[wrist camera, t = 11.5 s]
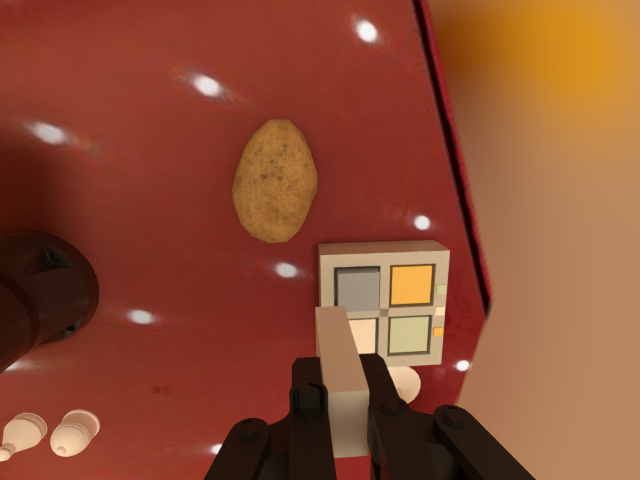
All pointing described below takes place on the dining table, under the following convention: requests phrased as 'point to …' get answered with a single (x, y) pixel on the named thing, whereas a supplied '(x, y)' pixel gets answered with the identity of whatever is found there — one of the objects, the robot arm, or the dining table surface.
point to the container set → (64, 439)
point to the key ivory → (363, 334)
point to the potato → (275, 182)
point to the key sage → (407, 333)
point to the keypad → (382, 259)
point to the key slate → (358, 288)
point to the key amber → (410, 283)
